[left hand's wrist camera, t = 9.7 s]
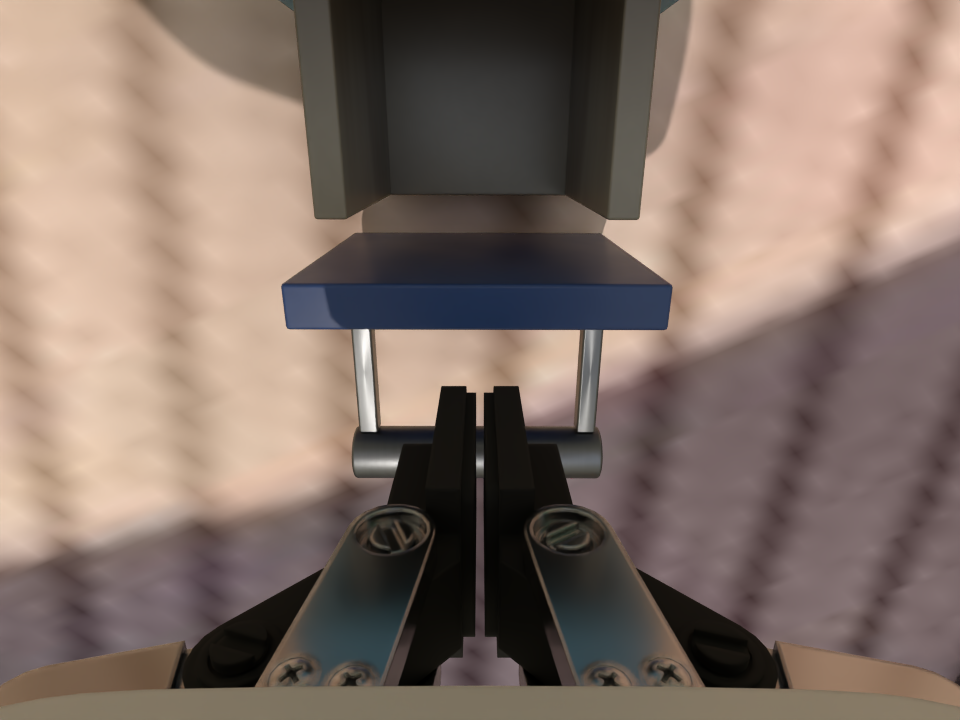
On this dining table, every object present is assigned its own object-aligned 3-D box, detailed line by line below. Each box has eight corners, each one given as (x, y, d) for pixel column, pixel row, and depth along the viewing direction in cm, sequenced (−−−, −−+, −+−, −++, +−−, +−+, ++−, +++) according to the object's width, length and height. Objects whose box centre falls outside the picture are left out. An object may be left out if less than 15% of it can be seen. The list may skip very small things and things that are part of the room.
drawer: (589, 396, 25) (644, 522, 16) (366, 395, 25) (309, 521, 16) (629, -124, 18) (754, -348, 10) (327, -125, 18) (199, -350, 10)
